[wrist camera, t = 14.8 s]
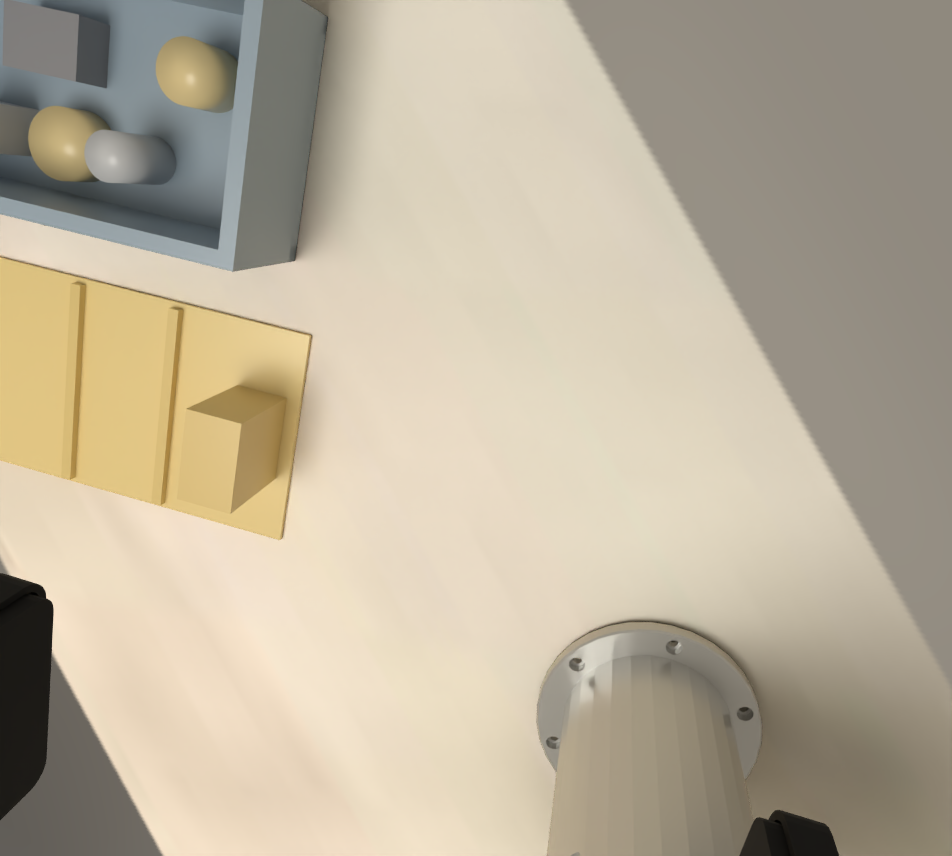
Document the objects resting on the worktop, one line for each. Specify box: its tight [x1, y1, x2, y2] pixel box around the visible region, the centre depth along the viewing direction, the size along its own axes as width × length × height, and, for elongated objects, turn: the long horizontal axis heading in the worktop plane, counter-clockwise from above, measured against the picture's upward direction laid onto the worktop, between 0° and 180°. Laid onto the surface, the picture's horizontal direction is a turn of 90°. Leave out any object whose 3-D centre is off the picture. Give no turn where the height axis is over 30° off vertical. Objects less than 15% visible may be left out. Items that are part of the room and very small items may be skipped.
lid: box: [0, 257, 312, 540], centre depth 43 cm, size 21×13×6 cm, turn 78°
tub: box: [0, 0, 328, 272], centre depth 38 cm, size 20×12×7 cm, turn 78°
